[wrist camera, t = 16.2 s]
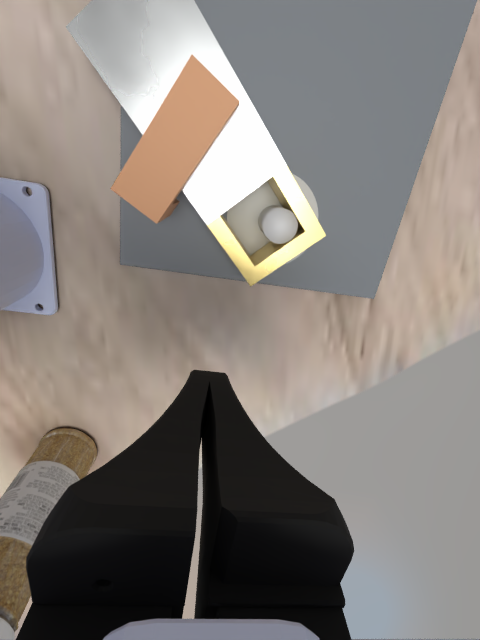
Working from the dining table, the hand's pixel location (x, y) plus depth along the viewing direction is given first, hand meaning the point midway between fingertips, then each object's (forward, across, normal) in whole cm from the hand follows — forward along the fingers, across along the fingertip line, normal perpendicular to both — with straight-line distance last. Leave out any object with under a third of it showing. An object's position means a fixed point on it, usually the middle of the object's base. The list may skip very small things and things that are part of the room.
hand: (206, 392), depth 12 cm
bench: (+10, -2, -10) cm, 15 cm away
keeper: (+10, +2, -9) cm, 14 cm away
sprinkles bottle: (+10, +10, +14) cm, 20 cm away
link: (+9, +1, -9) cm, 13 cm away
